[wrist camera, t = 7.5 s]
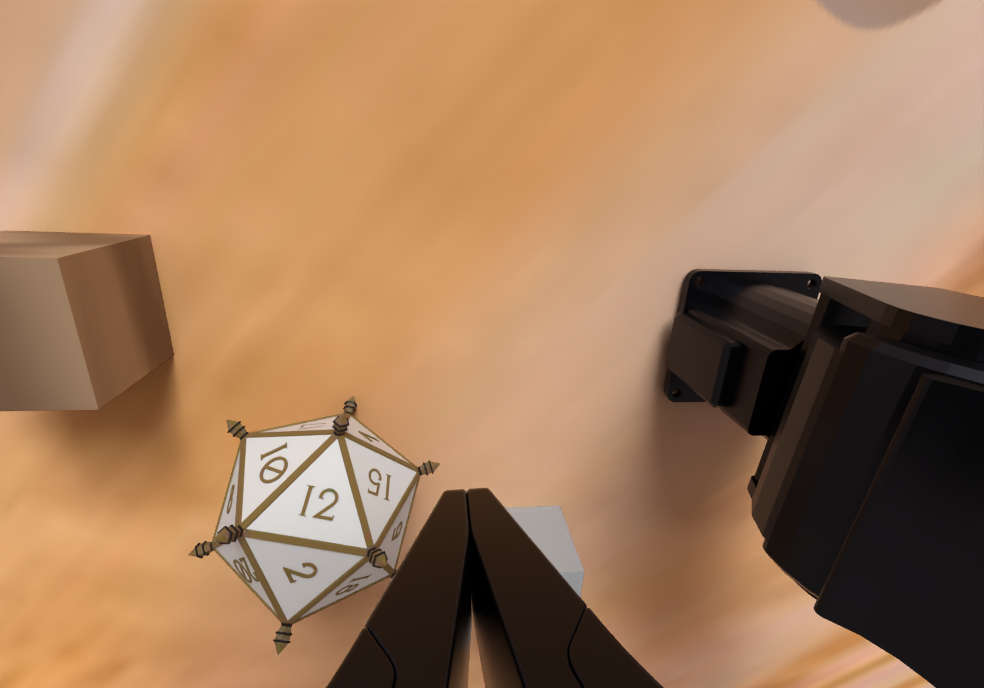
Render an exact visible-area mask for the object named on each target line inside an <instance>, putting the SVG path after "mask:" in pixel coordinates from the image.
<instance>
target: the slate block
mask: <svg viewBox="0 0 984 688" xmlns="http://www.w3.org/2000/svg"><path fill="white" fill-rule="evenodd" d="M505 509H506V510H507V511H508V512H509V513H510V515H511V516H512V517H513V518H514V519H515V520H516V522H517V523H518V524H519V525H520V526H521V528H522V529H523V530H524V531H525V532H526V534H527V535H528V536H529V537H530V538H531V540H532V541H533V542H534V543H535V544H536V545H537V547H538V548H539V549H540V550H541V551H542V553H543V554H544V555H545V556H546V557H547V559H548V560H549V561H550V562H551V563H552V564H553V566H554V567H555V568H556V569H557V570H558V572H559V573H560V574H561V575H562V576H563V578H564V579H565V580H566V581H567V582H568V583H569V585H570V586H571V587H572V588H573V589H574V591H575V592H576V593H577V594H578V595H579V597H580V596H581V589H582V582H583V576H584V569H583V567H582V564H581V561H580V559H579V556H578V553H577V551H576V548H575V545H574V543H573V540H572V537H571V534H570V532H569V529H568V526H567V524H566V521H565V518H564V516H563V513H562V510H561V508H560V506H538V507H514V508H505Z"/></svg>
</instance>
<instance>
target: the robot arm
mask: <svg viewBox="0 0 984 688" xmlns="http://www.w3.org/2000/svg"><path fill="white" fill-rule="evenodd" d="M697 277H700V282H699V283H698V284H697V285H694V281H695V279H696V278H697ZM809 280H810V284H809V285H808V286H807V287H806V284H807V282H808V281H809ZM819 292H820V293H821V295H820V298H819V300H817V297H818V294H819ZM666 366H667V367H668V370H667V375H666V380H665V385H664V394H665V396H666V397H667V398H668V399H669V400H670V401H672V402H708V403H709V404H710V405H711V406H712V407H718V408H719V409H721V410H722V411H723V412H724V413H725V414H726V415H728V416H729V417H730V418H731V419H732V420H734V421H735V422H736V423H737V424H738V425H739V426H741V427H742V428H743V429H744V430H745V431H747V432H748V433H749V434H750V435H754V436H757V435H762V436H763V437H765V438H766V439H767V440H768V441H767V444H766V446H765V449H764V452H763V455H762V457H761V460H760V463H759V466H758V468H757V471H756V474H755V476H752V477H751V479H750V482H749V484H748V487H747V489H748V492H749V494H750V496H751V498H752V516H753V518H754V520H755V522H756V524H757V526H758V528H759V530H760V532H761V534H762V536H763V537H764V538H765V540H764V542H763V549H764V550H765V552H766V553H767V554H768V556H769V557H770V558H771V559H772V560H773V561H774V562H775V563H776V564H777V565H778V566H779V567H780V568H781V570H782V571H783V572H784V573H785V574H787V575H788V576H789V577H790V578H792V579H793V580H794V581H795V582H796V583H797V584H798V585H799V586H800V587H801V588H802V589H804V590H805V591H806V592H807V593H808V594H809V595H811V596H812V597H813V598H815V599H816V600H817V601H816V603H815V605H814V610H815V612H816V613H817V614H818V615H820V616H821V617H823V618H825V619H827V620H829V621H831V622H833V623H835V624H838V625H840V626H842V627H844V628H846V629H848V630H850V631H852V632H854V633H856V634H859V635H860V636H862V637H864V638H865V639H867V640H869V641H870V642H872V643H873V644H875V645H877V646H878V647H880V648H881V649H883V650H885V651H886V652H888V653H889V654H891V655H893V656H894V657H896V658H897V659H899V660H900V661H902V662H903V663H904V664H906V665H907V666H908V667H910V668H911V669H912V670H914V671H915V672H916V673H918V674H919V675H920V676H922V677H923V678H924V679H926V680H927V681H928V682H929V683H931V684H932V685H933V686H934V687H936V688H984V298H983V297H978V296H974V295H969V294H964V293H960V292H955V291H950V290H945V289H940V288H933V287H923V286H913V285H904V284H894V283H884V282H875V281H865V280H855V279H846V278H836V277H826V276H824V277H823V280H821V277H820V276H819V275H818V274H814V273H811V272H796V271H756V270H716V269H695V270H692V271H690V272H689V273H688V274H687V275H686V278H685V281H684V286H683V292H682V297H681V302H680V307H679V312H678V314H677V316H676V317H675V319H674V324H673V330H672V335H671V340H670V345H669V351H668V356H667V361H666ZM676 388H678V391H677V392H676V393H674V394H672V392H673V390H675V389H676ZM471 600H472V608H471ZM472 611H473V619H474V626H475V632H476V638H477V643H478V649H479V654H480V660H481V665H482V671H483V677H484V682H485V688H664V687H663V686H661V685H660V684H659V683H658V682H657V681H656V680H655V679H654V678H653V677H652V676H651V675H650V674H649V673H648V672H647V671H646V670H645V669H644V668H643V667H642V666H641V665H640V664H639V663H638V662H637V661H636V660H635V659H634V658H633V657H632V656H631V655H630V654H629V653H628V652H627V651H626V650H625V648H624V647H623V646H622V645H621V644H620V643H619V642H618V641H617V640H616V638H615V637H614V636H613V635H612V634H611V633H610V632H609V631H608V629H607V628H606V627H605V626H604V625H603V624H602V623H601V621H600V620H599V619H598V618H597V617H596V615H595V614H594V613H593V612H592V611H591V609H589V608H587V605H586V604H585V602H584V601H583V600H582V599H581V598H580V597H579V595H578V594H577V593H576V592H575V591H574V589H573V588H572V587H571V586H570V585H569V583H568V582H567V581H566V580H565V579H564V578H563V576H562V575H561V574H560V573H559V572H558V570H557V569H556V568H555V567H554V566H553V564H552V563H551V562H550V561H549V560H548V559H547V557H546V556H545V555H544V554H543V553H542V551H541V550H540V549H539V548H538V547H537V545H536V544H535V543H534V542H533V541H532V540H531V538H530V537H529V536H528V535H527V534H526V532H525V531H524V530H523V529H522V528H521V526H520V525H519V524H518V523H517V522H516V520H515V519H514V518H513V517H512V516H511V515H510V513H509V512H508V511H507V510H506V509H505V507H504V506H503V505H502V504H501V503H500V501H499V500H498V499H497V498H496V497H495V496H494V494H493V493H492V492H491V491H490V490H489V489H488V488H476V489H469V490H468V491H467V494H466V491H465V490H463V489H460V490H447V491H445V492H444V493H443V494H442V496H441V497H440V499H439V501H438V503H437V504H436V506H435V508H434V509H433V511H432V513H431V514H430V516H429V518H428V519H427V521H426V523H425V525H424V526H423V528H422V530H421V531H420V533H419V535H418V536H417V538H416V540H415V542H414V543H413V545H412V547H411V548H410V550H409V552H408V553H407V555H406V557H405V558H404V560H403V562H402V564H401V565H400V567H399V569H398V570H397V572H396V574H395V575H394V577H393V579H392V580H391V582H390V584H389V586H388V587H387V589H386V591H385V592H384V594H383V596H382V597H381V599H380V601H379V602H378V604H377V606H376V608H375V609H374V611H373V613H372V614H371V616H370V618H369V619H368V621H367V623H366V625H365V628H364V629H362V631H361V633H360V634H359V636H358V638H357V639H356V641H355V643H354V644H353V646H352V648H351V650H350V651H349V653H348V654H347V656H346V657H345V659H344V661H343V662H342V664H341V665H340V667H339V669H338V670H337V672H336V673H335V675H334V676H333V678H332V680H331V681H330V683H329V684H328V685H327V687H326V688H468V673H469V657H470V640H471V619H472Z"/></svg>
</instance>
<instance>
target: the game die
mask: <svg viewBox="0 0 984 688" xmlns="http://www.w3.org/2000/svg"><path fill="white" fill-rule="evenodd" d="M344 404H345V407H344V408H343V409H344V412H345V413H343V414H338V415H333V416H328V417H323V418H319V419H314V420H309V421H304V422H299V423H294V424H290V425H285V426H280V427H275V428H270V429H265V430H261V431H256V432H251V433H248V432H246V430H245V426H242V425H241V424H240V423H241V421H239V422H236V421H231V420H227V425H228V430H229V431H228V433H229V432H230V433H232V434H233V437H234V436H236V437H238V438H240V440H241V441H240V445H239V448H238V452H237V455H236V459H235V462H234V466H233V469H232V473H231V476H230V480H229V484H228V487H227V491H226V494H225V498H224V501H223V505H222V508H221V512H220V515H219V519H218V522H217V526H216V529H215V533H214V537H213V540H212V542H207V541H205V542H204V543H202V544H200V543H198V544H197V545H196V546H195V549H194V550H193V551H192V552H191V553H189V554H188V555H191V556H197V557H199V558H203V556H205V555H207V556H208V555H209V553H211V552H212V551H215V552H216V553H217V554H218V555H219V556H220V557H221V558H222V559H223V560H224V561H225V562H226V564H227V565H228V566H229V567H230V568H231V569H232V570H233V571H234V572H235V573H236V574H237V575H238V576H239V578H240V579H241V580H242V581H243V582H244V583H245V584H246V585H247V586H248V587H249V588H250V589H251V591H252V592H253V593H254V594H255V595H256V596H257V597H258V598H259V599H260V600H261V601H262V602H263V603H264V605H265V606H266V607H267V608H268V609H269V610H270V611H271V612H272V613H273V614H274V615H275V616H276V618H277V619H278V620H279V621H280V622H281V627H280V629H279V631H278V632H276V634H277V636H276V639H275V640H273V641H275V645H276V649H277V653H278V655H279V653H280V652H281V651H282V650H283V649H284V648H285V647H286V645H287V644H288V643H290V642H291V641H289V640H290V636H291V635H292V633H291V626H292V624H294V623H296V622H298V621H300V620H302V619H304V618H306V617H308V616H310V615H312V614H314V613H316V612H318V611H320V610H322V609H325V608H327V607H329V606H331V605H333V604H335V603H337V602H339V601H341V600H343V599H345V598H347V597H349V596H351V595H353V594H355V593H357V592H359V591H361V590H363V589H365V588H368V587H370V586H372V585H374V584H376V583H378V582H380V581H382V580H384V579H386V578H388V577H391V578H392V579H393V577H394V575H395V574H396V572H397V570H396V566H397V562H398V558H399V554H400V551H401V547H402V543H403V539H404V535H405V532H406V528H407V524H408V520H409V516H410V513H411V509H412V505H413V501H414V497H415V493H416V490H417V486H418V482H419V478H420V476H421V475H423V474H427V475H428V474H429V473H432V474H433V472H434V471H435V469H436V468H437V467H438V466H439V465H440V464H439V463H435V462H430V460H429V462H427V463H423V465H421V466H420V467H417V466H415V465H414V464H413V463H412V462H410V461H409V460H408V459H407V458H405V457H404V456H403V455H402V454H400V453H399V452H398V451H396V450H395V449H394V448H393V447H391V446H390V445H389V444H388V443H386V442H385V441H384V440H383V439H381V438H380V437H379V436H378V435H376V434H375V433H374V432H373V431H371V430H370V429H369V428H368V427H366V426H365V425H364V424H363V423H361V422H360V421H359V420H358V419H356V418H355V417H354V416H353V415H352V413H353V412H355V411H356V410H355V407H357V405H356V403H355V400H354V397H352V398H351V399H350V400H349V401H346V402H345V403H344Z"/></svg>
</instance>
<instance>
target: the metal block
mask: <svg viewBox="0 0 984 688" xmlns="http://www.w3.org/2000/svg"><path fill="white" fill-rule="evenodd" d="M172 355H174V352H173V347H172V342H171V337H170V332H169V327H168V322H167V317H166V312H165V307H164V302H163V297H162V292H161V287H160V282H159V278H158V273H157V268H156V263H155V258H154V253H153V248H152V243H151V238H150V235H134V234H100V233H66V232H31V231H1V232H0V411H47V410H99V409H100V408H102V407H103V406H104V405H106V404H107V403H108V402H110V401H111V400H113V399H114V398H115V397H117V396H118V395H119V394H121V393H122V392H123V391H125V390H126V389H127V388H129V387H130V386H132V385H133V384H134V383H136V382H137V381H138V380H140V379H141V378H142V377H144V376H145V375H146V374H148V373H149V372H151V371H152V370H153V369H155V368H156V367H157V366H159V365H160V364H161V363H163V362H164V361H165V360H167V359H168V358H170V357H171V356H172Z"/></svg>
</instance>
